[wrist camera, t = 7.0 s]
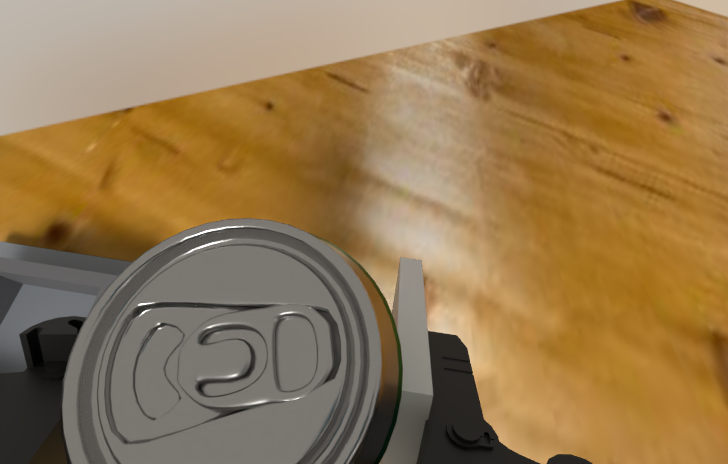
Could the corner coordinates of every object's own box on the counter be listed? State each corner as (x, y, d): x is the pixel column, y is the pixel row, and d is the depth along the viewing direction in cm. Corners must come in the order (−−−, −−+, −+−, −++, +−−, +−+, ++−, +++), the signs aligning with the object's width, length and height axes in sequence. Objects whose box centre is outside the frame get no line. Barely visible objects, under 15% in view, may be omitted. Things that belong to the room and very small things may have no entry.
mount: (202, 276, 26) (177, 255, 22) (129, 485, 21) (82, 501, 17) (5, 246, 26) (-51, 220, 23) (-112, 441, 21) (-207, 448, 18)
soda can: (257, 340, 17) (67, 215, 6) (369, 324, 17) (380, 179, 6) (259, 472, 15) (-26, 643, 4) (387, 452, 15) (449, 561, 4)
